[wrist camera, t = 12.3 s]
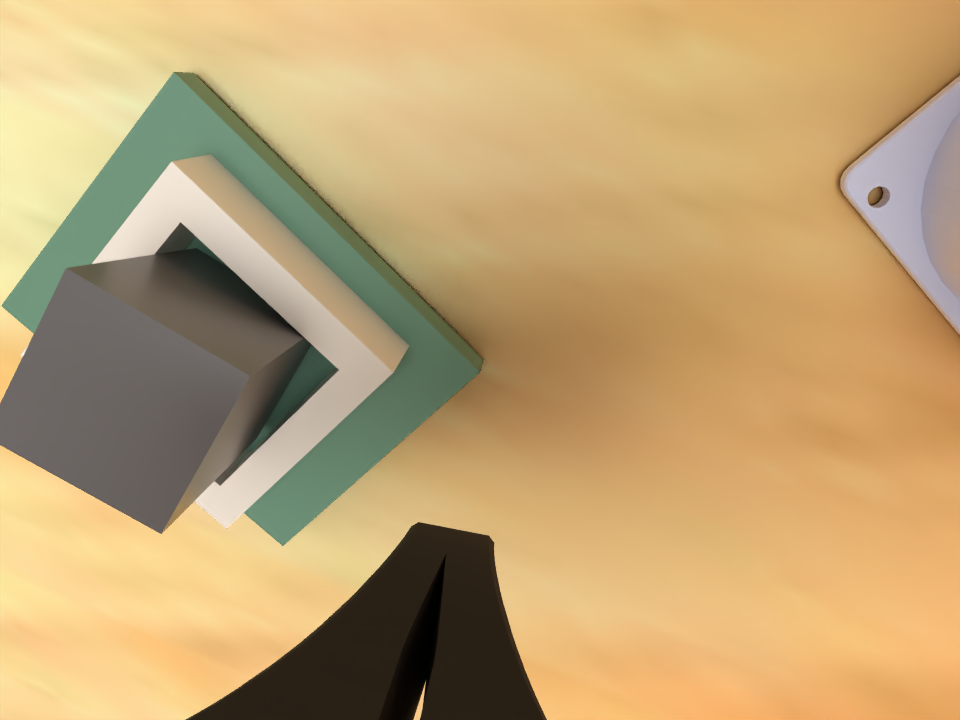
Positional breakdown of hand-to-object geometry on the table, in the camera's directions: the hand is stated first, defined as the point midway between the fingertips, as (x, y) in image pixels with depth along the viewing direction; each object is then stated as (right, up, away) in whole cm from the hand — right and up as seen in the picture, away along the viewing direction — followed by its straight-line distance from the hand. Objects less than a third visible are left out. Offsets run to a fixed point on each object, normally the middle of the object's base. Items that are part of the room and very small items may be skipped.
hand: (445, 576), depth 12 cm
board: (-6, +5, +9) cm, 12 cm away
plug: (-7, +4, +8) cm, 11 cm away
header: (-6, +4, +8) cm, 11 cm away
